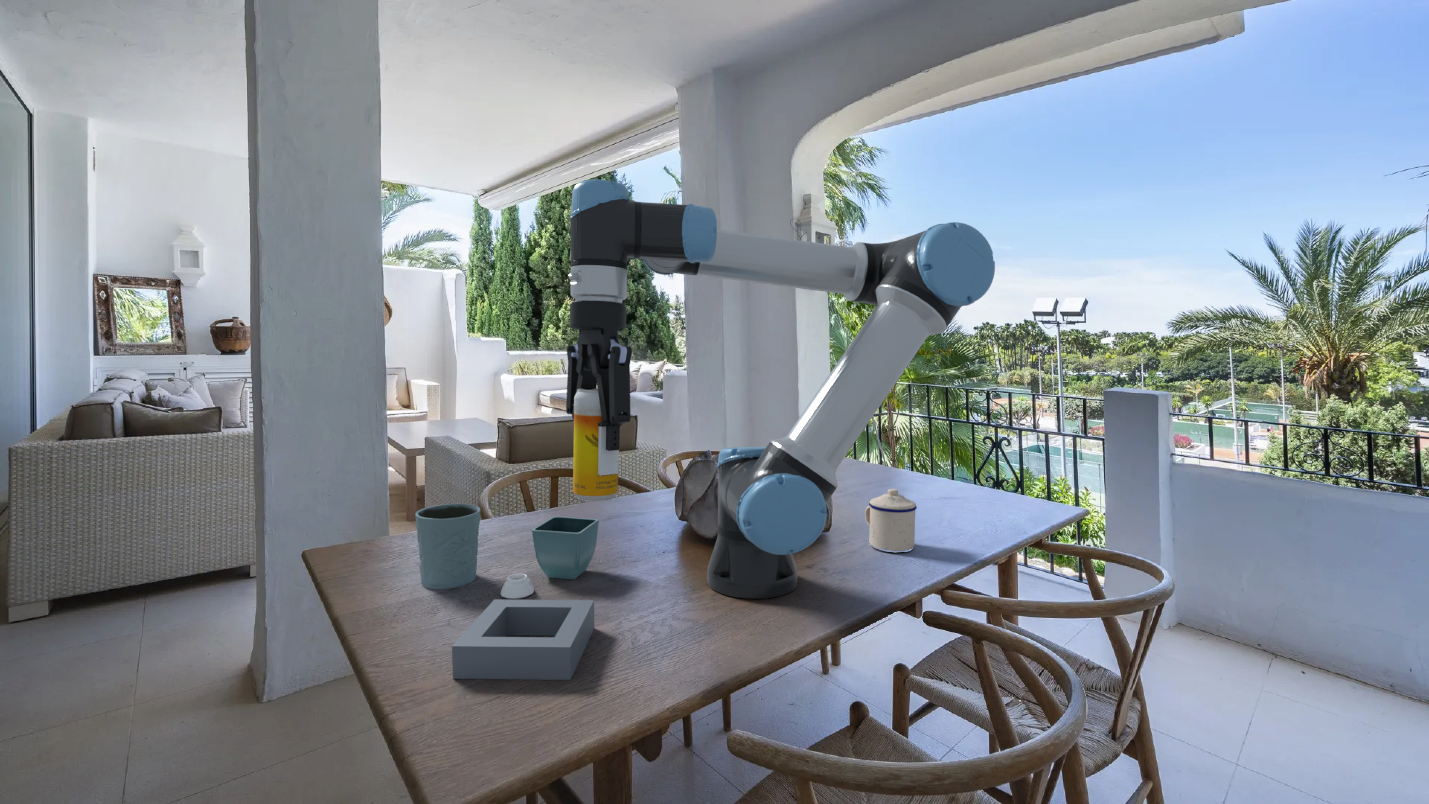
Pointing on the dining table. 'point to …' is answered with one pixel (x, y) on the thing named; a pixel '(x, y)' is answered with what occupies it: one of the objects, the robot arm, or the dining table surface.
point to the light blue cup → (448, 544)
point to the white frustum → (517, 587)
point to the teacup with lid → (891, 521)
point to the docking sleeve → (525, 640)
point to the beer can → (589, 450)
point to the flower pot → (565, 545)
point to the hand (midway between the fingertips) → (595, 469)
